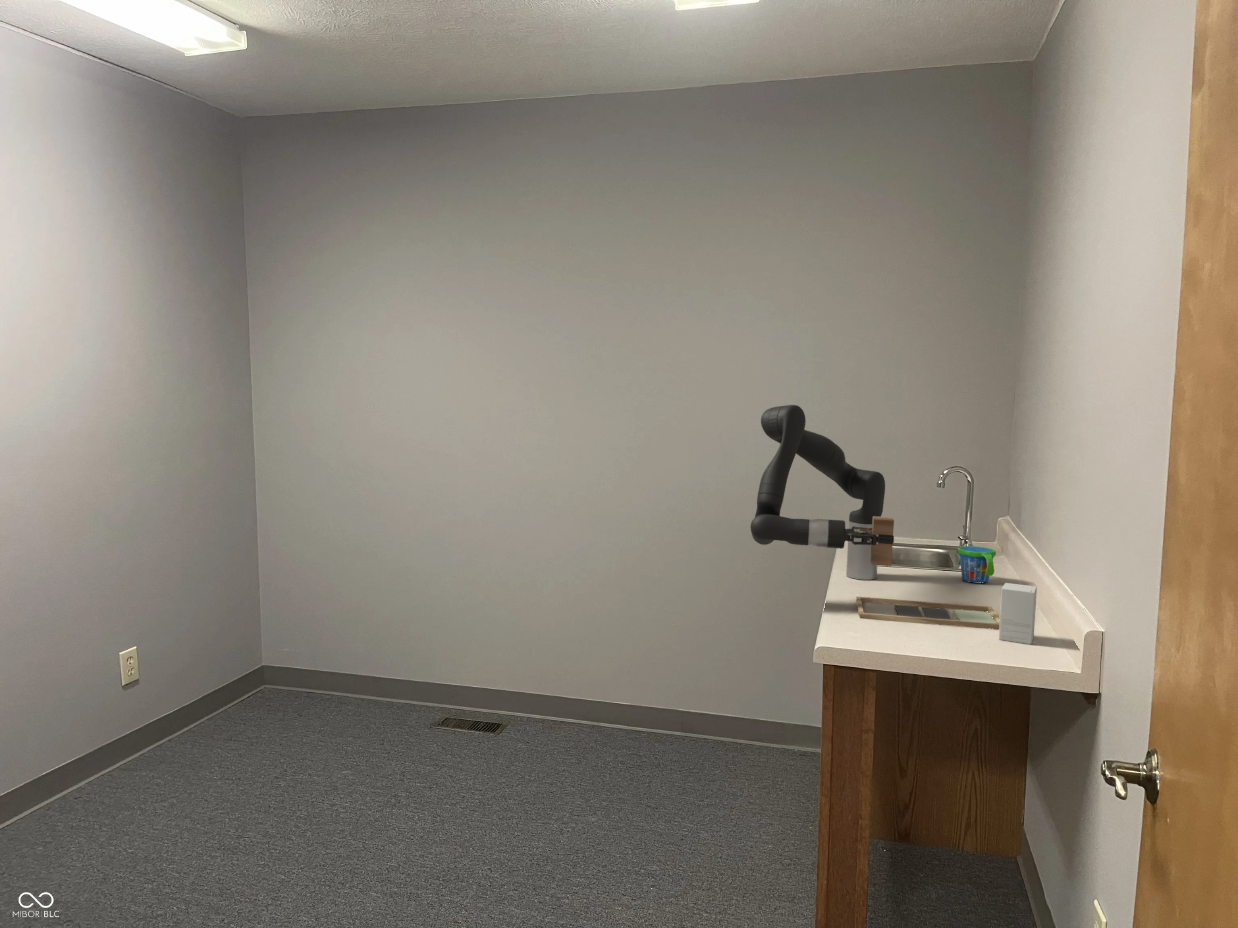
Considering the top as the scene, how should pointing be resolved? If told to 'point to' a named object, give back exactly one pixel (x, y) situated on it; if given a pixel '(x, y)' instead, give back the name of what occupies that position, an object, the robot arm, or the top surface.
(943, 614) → the trap squares
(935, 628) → the top surface
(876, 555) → the walnut block
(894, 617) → the tray
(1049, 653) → the top surface
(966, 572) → the snack cup
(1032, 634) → the supplement box
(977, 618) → the pad
